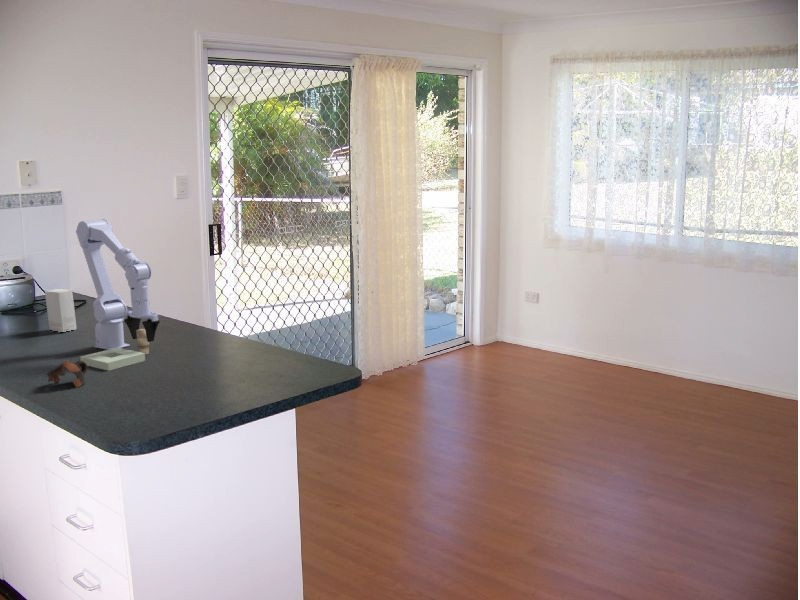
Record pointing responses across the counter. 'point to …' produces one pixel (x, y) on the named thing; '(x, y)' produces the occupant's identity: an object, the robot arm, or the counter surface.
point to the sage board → (113, 358)
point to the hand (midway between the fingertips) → (143, 339)
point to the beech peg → (142, 341)
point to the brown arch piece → (71, 368)
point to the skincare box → (60, 310)
